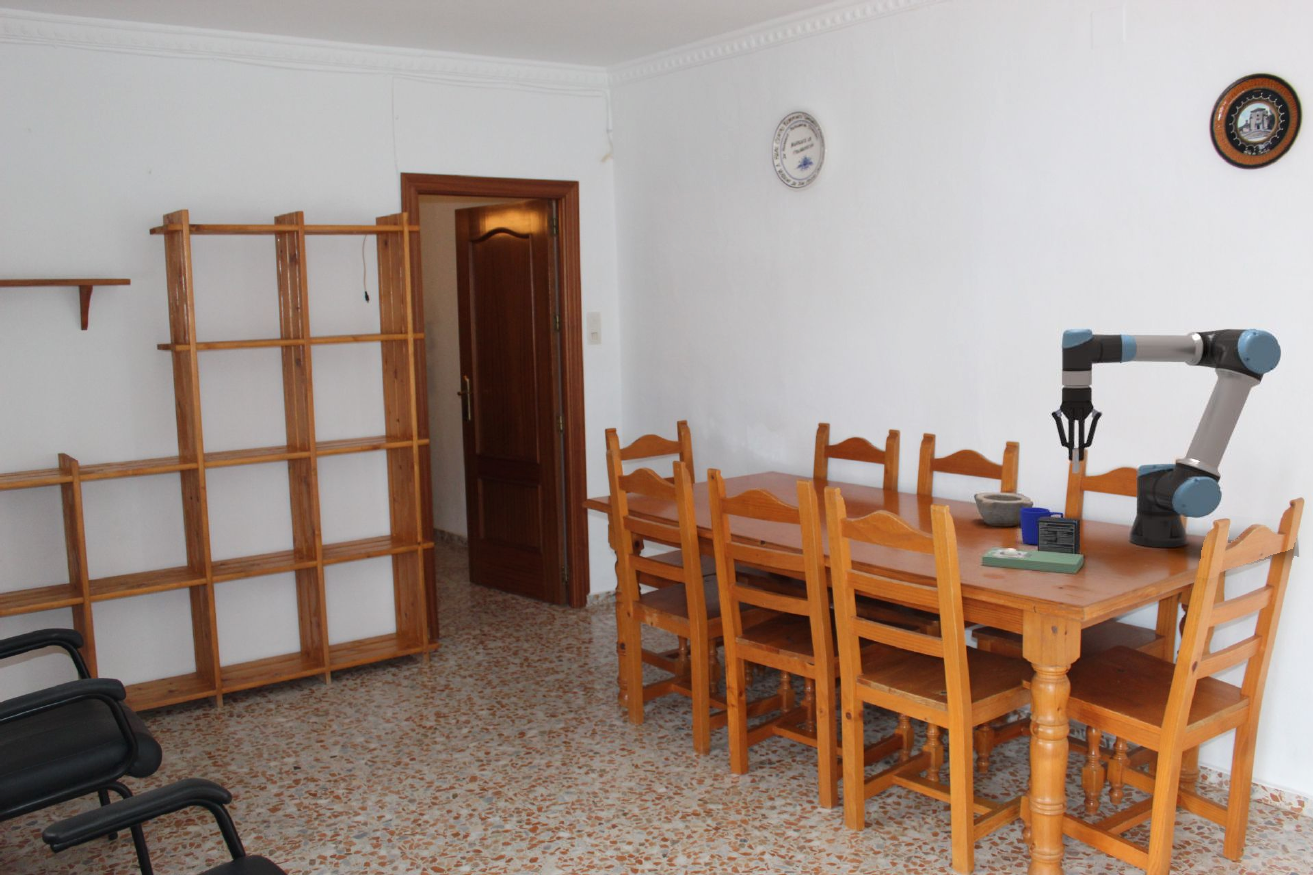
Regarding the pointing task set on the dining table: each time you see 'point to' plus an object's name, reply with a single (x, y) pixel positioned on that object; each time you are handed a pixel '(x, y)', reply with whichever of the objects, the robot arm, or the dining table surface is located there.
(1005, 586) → the dining table surface
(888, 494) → the dining table surface
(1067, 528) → the small box
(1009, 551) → the ball
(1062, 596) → the dining table surface
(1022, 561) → the green
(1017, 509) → the mortar
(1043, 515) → the mug
